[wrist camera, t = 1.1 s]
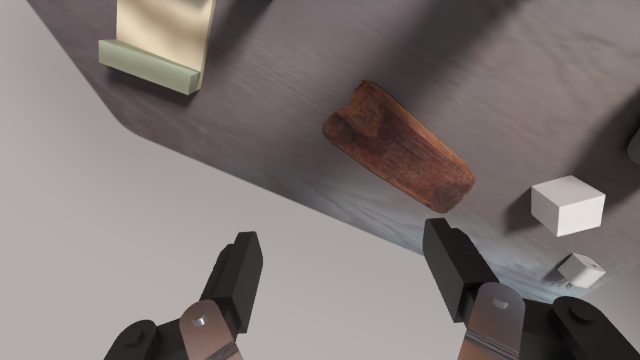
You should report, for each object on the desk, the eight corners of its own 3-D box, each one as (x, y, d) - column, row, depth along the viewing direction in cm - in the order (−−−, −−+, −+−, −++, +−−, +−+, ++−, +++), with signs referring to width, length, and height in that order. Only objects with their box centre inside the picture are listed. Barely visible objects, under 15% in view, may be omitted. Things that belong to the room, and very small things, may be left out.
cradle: (125, -79, 28) (97, -94, 24) (221, -34, 30) (208, -42, 26) (121, 58, 34) (99, 62, 31) (200, 88, 36) (188, 95, 33)
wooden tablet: (489, 183, 43) (442, 227, 46) (480, 178, 45) (436, 220, 48) (366, 73, 35) (319, 134, 38) (363, 73, 37) (318, 130, 40)
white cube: (568, 203, 46) (600, 226, 41) (530, 213, 47) (557, 237, 42) (571, 174, 43) (605, 194, 38) (530, 185, 44) (559, 207, 39)
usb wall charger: (588, 256, 52) (607, 273, 49) (562, 280, 55) (579, 297, 52) (571, 252, 51) (589, 268, 48) (546, 276, 55) (562, 293, 51)
